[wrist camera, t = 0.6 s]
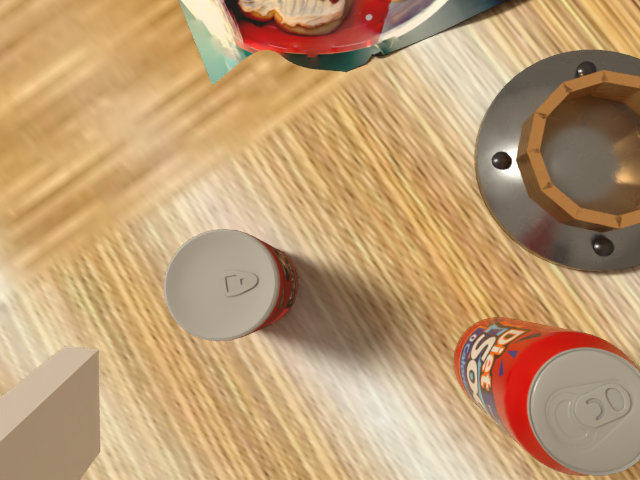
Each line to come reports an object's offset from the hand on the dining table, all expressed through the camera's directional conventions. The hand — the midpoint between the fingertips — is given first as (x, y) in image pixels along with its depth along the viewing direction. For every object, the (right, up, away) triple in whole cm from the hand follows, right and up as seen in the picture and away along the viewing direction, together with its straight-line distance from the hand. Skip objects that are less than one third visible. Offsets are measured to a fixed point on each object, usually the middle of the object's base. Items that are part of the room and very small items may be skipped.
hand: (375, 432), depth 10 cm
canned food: (-7, 0, +30) cm, 30 cm away
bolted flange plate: (+23, +12, +28) cm, 38 cm away
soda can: (+14, -6, +27) cm, 31 cm away
